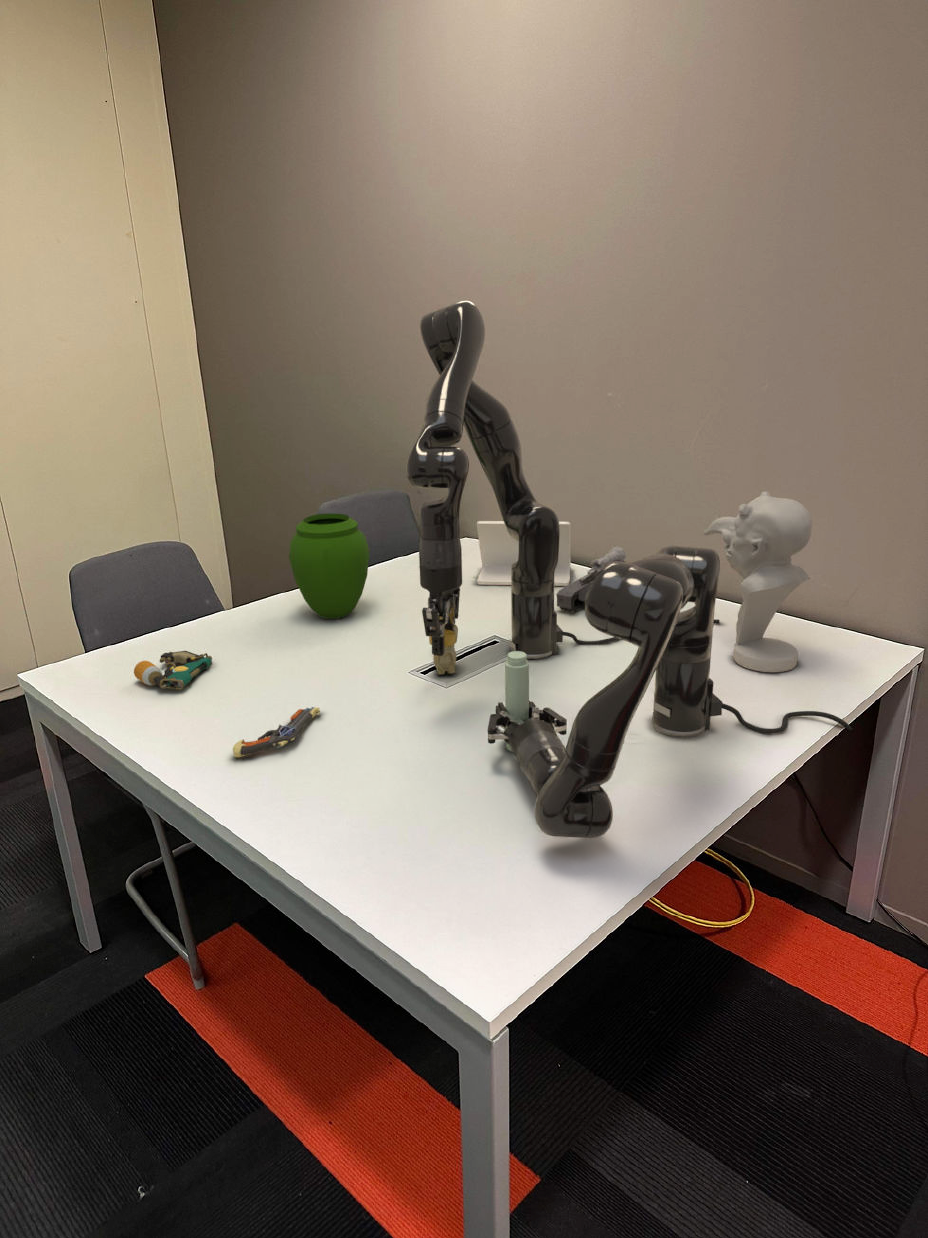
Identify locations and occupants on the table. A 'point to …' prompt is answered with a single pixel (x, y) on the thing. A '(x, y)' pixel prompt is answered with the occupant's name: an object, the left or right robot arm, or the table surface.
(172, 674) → the spray gun
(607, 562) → the toy
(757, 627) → the bust sculpture
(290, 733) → the toy gun
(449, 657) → the sculpture
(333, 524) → the vase
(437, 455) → the left robot arm
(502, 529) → the tablet stand
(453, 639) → the lid
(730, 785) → the table surface
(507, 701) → the pale green cylinder
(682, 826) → the table surface
